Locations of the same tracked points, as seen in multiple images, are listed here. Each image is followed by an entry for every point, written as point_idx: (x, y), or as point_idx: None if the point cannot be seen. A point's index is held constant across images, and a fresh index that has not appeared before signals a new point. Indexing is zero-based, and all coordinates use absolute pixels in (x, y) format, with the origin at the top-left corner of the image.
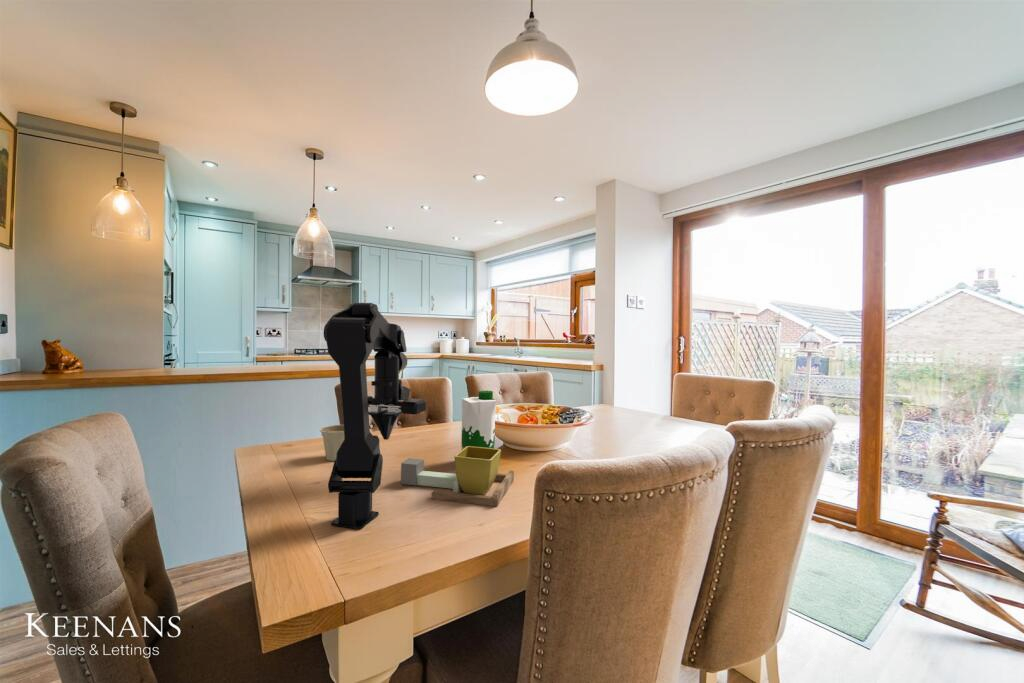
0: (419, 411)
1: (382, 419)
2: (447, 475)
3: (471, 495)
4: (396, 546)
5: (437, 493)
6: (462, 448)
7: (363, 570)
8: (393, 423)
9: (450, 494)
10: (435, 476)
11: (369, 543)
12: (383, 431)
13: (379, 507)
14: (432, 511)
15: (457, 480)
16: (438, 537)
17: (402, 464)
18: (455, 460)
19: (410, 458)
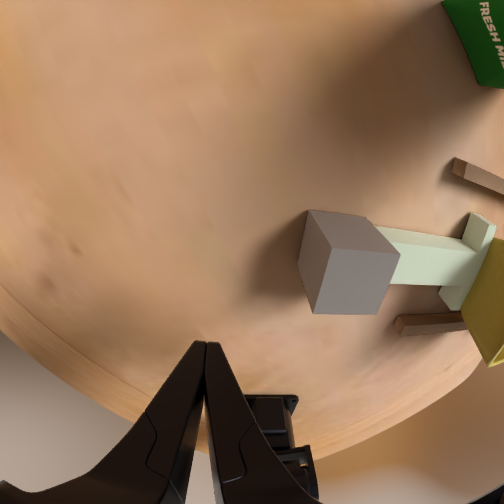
0: (483, 502)
1: (181, 501)
2: (448, 268)
3: (465, 326)
4: (344, 426)
5: (410, 334)
6: (489, 29)
7: (319, 447)
8: (262, 448)
9: (433, 332)
10: (418, 283)
11: (310, 430)
12: (198, 420)
13: (287, 376)
14: (391, 363)
15: (462, 314)
16: (393, 404)
17: (318, 311)
18: (483, 358)
19: (340, 250)
